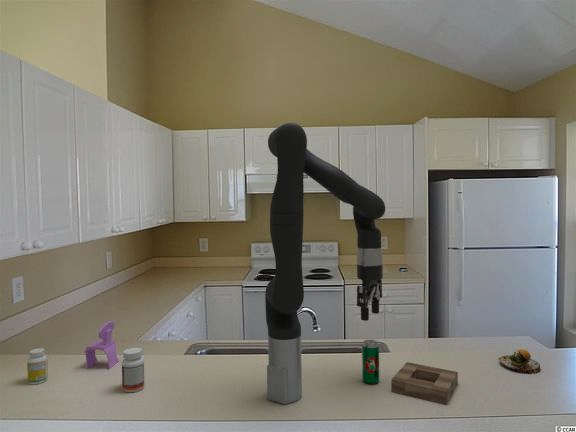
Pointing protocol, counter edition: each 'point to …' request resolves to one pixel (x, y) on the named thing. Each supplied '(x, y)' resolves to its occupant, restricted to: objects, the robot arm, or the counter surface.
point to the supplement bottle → (37, 367)
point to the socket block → (425, 382)
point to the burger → (520, 362)
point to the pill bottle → (132, 370)
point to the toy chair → (103, 347)
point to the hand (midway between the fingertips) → (370, 316)
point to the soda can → (370, 361)
